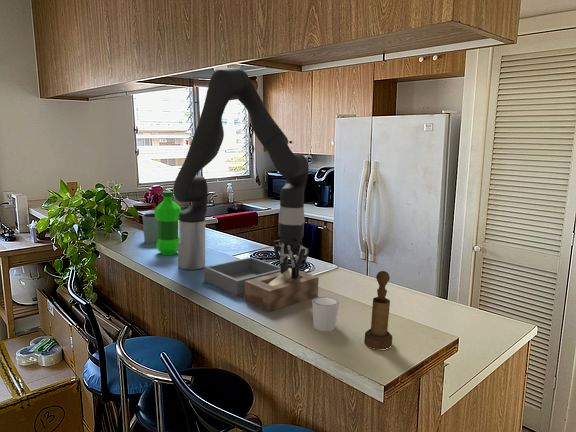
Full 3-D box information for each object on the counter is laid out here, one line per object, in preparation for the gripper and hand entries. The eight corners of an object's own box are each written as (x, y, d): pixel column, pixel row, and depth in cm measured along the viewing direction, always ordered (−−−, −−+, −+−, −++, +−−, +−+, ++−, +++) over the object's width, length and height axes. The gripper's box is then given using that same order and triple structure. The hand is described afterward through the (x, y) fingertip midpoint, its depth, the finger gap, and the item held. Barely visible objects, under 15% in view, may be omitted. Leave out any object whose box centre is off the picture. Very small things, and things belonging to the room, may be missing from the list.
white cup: (318, 334, 110) (320, 307, 109) (306, 323, 116) (307, 297, 115) (342, 330, 113) (344, 304, 111) (329, 319, 119) (331, 294, 118)
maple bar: (272, 299, 128) (270, 292, 127) (263, 295, 131) (261, 288, 130) (300, 277, 135) (298, 271, 134) (291, 274, 138) (289, 267, 137)
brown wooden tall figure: (392, 352, 102) (398, 277, 99) (363, 348, 103) (368, 274, 100) (391, 339, 108) (397, 268, 105) (364, 336, 110) (369, 266, 106)
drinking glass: (155, 237, 204) (155, 212, 202) (171, 240, 199) (171, 214, 197) (137, 241, 195) (137, 215, 193) (154, 245, 190) (153, 217, 188)
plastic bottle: (175, 257, 173) (174, 194, 168) (150, 255, 174) (149, 192, 170) (186, 251, 182) (185, 191, 178) (162, 249, 184) (161, 189, 180)
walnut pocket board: (268, 311, 123) (269, 291, 122) (244, 300, 131) (244, 281, 129) (317, 295, 136) (318, 277, 135) (292, 286, 144) (293, 268, 143)
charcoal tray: (237, 297, 133) (237, 281, 132) (204, 281, 146) (204, 267, 145) (285, 283, 147) (286, 269, 146) (251, 270, 159) (251, 257, 159)
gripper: (266, 218, 134) (264, 273, 137) (299, 226, 124) (297, 285, 127) (284, 216, 139) (282, 268, 142) (317, 223, 129) (314, 280, 132)
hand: (289, 276), depth 134 cm, fingers closed on maple bar, 4 cm apart
